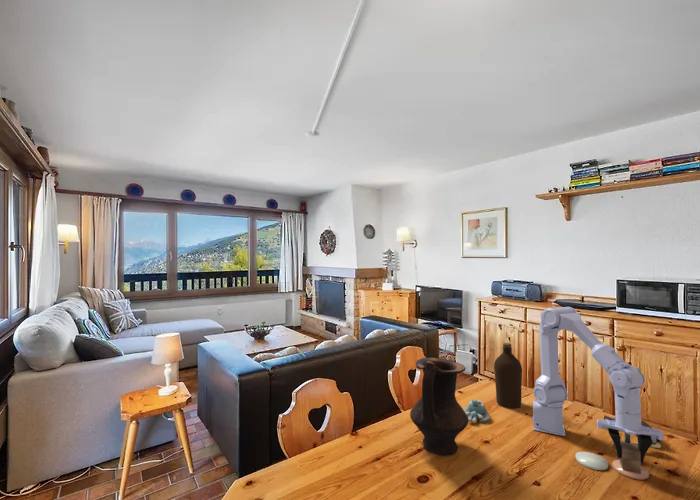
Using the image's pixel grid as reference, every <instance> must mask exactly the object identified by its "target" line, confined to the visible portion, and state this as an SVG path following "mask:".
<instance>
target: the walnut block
mask: <svg viewBox="0 0 700 500" xmlns="http://www.w3.org/2000/svg"><path fill="white" fill-rule="evenodd" d="M620 450H621V458H619V460H620V464H621V467H622V469H623V470H626V471H630V472H634V473H638V474H641V466H642V465H641V464H642V463H641V454H640V450H639V448H638V446H637V445H634V444H629V443H624V442H620Z"/></svg>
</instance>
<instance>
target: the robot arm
mask: <svg viewBox="0 0 700 500" xmlns="http://www.w3.org/2000/svg"><path fill="white" fill-rule="evenodd" d="M538 328H539V349H540V351H539V352H540V355H539V356H540V372H541V373H540V376H539V377H538V378H537V379H536V380H535V384H534V385H535V386H534V388H533V395H534V398H535V400H533V401H532V413H533V414H532V423H533V430H534V431H538V432H543V433H547V434H551V435H552V434H553V435H558V436H560V437H561V436H562V437H565V436H566V431H565V425H564V411H563V410H564V407H563V405H564V404H565V402H566V401H567V400H568V397H569V396H568V392H567V389H566V385H565V381H564V380H563V379H562V378H561V377H560V368H559V366H560V365H559V347H558V333H559V332H560V331H561V330H565V331H570V332H572V333H573V334H575V335H576V337H578V338H579V340H581V341H582V342H583V343H584V344H585V345H586V346H587V347H588V348H589V349H590V350H591V356H592V358H593V359H594V360H595V361H596V362H597V364H599V366H601V368H602V369H604V371H605V372H606V373H607V374H608V379H609V382H610V383H611V385H612V387H613V392H614V406H615V411H614V412H615V419H616V421H613V420H608V419H605V420H604V419H599V418H598V419H596V423H597V424H596V426H597V429H599V430H607V429H608V430H607V431H608V434H609V436H610V438H611V440H612V442H614V443H613V445H614V444H615V445H614V449H615V451H616V456H617V458H618V459H620V458H621V450H620V441H621V434H620V432H622V433H625V432H626V433H628V434H630V435H632V436H635V435H637V437H636V438H637V444H638V448H639V450H640V454H641V464H644V460H645V457H646V455H647V452H648V450H649V449H650V448H651V447H650V446H651V445H652V439H651V437H652V438H658V440H660V441H664V432H663V431H662V429H661V430H660V429H657V428H656V429H655V428H653V427H652V428H653V429H652V428H649V427H645V426H641V421H642V408H641V407H642V406H641V388H640V387H642V386H644V384H645V381H646V380H645V376H644V373H643V372H642V371H641V369H639V368H638V367H636V366H634V365H630V363H628V362H627V361H625V360H624V359H623V358H622V357H621V355H619V354H618V353H617V352H616V348H614V347H612V346H610V345H609V344H604V343H602V342H601V341H600V340H599V339H598V338H597V336H596V335H595V334H594V333H593V332H592V331H591V329H590V328H589V327H588V325H586V324H585V322H584V321H583V320H582V316H581V314H580V313H579V312H578V311H576V309H575V308H573V307H571V306H564V307H548V308H545V309H544V310H543V311H541V313H540V322H539V327H538ZM603 428H604V429H603Z"/></svg>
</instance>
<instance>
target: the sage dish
mask: <svg viewBox="0 0 700 500" xmlns="http://www.w3.org/2000/svg"><path fill="white" fill-rule="evenodd" d="M574 455H575V460H576V462H577V463H578V464H580V465H581V466H582V467H585V468H588V469H590V470H591V469H592V470H595V471H606V470H608V469H609V462H608V460H607V459H606V458H604V457H603V456H601V455H598V454H596V453H592V452H590V451H589V452H588V451H578V452H576V453H575V454H574Z"/></svg>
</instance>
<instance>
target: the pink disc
mask: <svg viewBox="0 0 700 500" xmlns="http://www.w3.org/2000/svg"><path fill="white" fill-rule="evenodd" d="M611 467H612V468H613V469H614V471H615V472H617V473H618V474H620V475H622V476H624V477H626V478H630V479H632V480H639V481H644V480H645V481H646V480H648V479H649V478H650V474H649V473H650V472H649V470H647V468H645V467H644V466H642V465H641V474H638V473H634V472H630V471H626V470H623V469H622V467H621V464H620V459H615V460H613V461H612V466H611Z"/></svg>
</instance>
